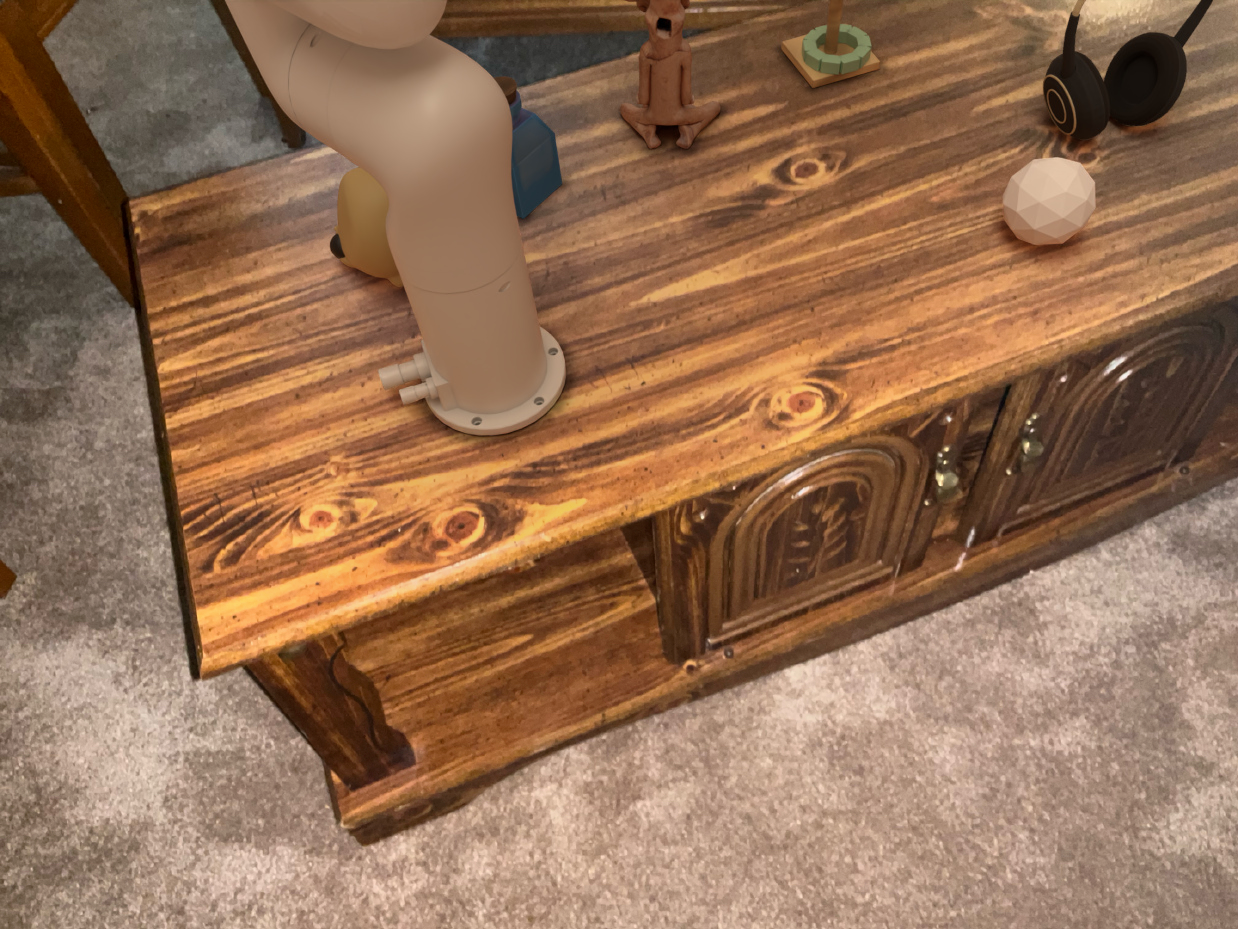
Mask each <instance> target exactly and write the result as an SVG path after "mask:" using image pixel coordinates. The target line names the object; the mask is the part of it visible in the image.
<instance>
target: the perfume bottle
mask: <svg viewBox="0 0 1238 929" xmlns="http://www.w3.org/2000/svg"><path fill="white" fill-rule="evenodd" d="M493 78H494V80H495V81H496V82H497V83H498V85H499V86H500V88H501V89H502V91H503V93H504V95H505V97H506V99H507V101H508V104H509V108H510V112H511V116H512V155H511V177H512V189H513V197H514V204H515V209H516V215H517V218H520V219H523V220H524V219H526V217H527V216H529V215H530V214H531V213H532V212H533V211H534V210H535V209H536V208H538V206H540V205H541V204H542V203H543V202H544V201H545V200H547V199H548V198H549V197H550V196H551V195H552V194H553V193H554V192H556V191H557V190H558V189H559V188H560V187H561V186H562V185H563V179H562V171H561V166H560V159H559V151H558V144H557V138H556V133H555V131H554V130H553V129H552V128H551V127H549V126H548V125H547V124H546V123H545V122H544V121H543V120H542V119H541V117H539V116H538V115H537V113H536V112H533V111H531V110H528V109H526V108H524V107H523V104H522V99H521V94H520V92H519V91H518V90H517V87H518V85H517V82H516V80H515V79H514V78H512V77H510V76H502V75H501V76H495V77H493Z"/></svg>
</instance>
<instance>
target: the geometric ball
mask: <svg viewBox="0 0 1238 929" xmlns="http://www.w3.org/2000/svg"><path fill="white" fill-rule="evenodd" d="M1095 210H1096V182H1095V180H1094V179H1093V178H1092V177H1091V175H1090V173H1089V172H1088V171H1087V170H1086V169H1085V167H1084V166H1083V164H1082V163H1081V162H1080V161H1079V162H1078V161H1076V160H1075V161H1074V160H1072V159H1067V158H1064V157H1058V156H1056V157H1055V156H1054V157H1045V158H1044V157H1043V158H1034V159H1032V160H1031V161H1030V162H1028V163H1027V164H1026V165H1024V166H1023V167H1021V168H1020V169H1019V170H1018V171H1016V172H1015V173H1014V174H1013V175H1011V176H1010V179H1009V180H1008V183H1007V185H1006V187H1005V189H1004V191H1003V194H1002V213H1003V215H1002V216H1003V221H1004V222H1005V224H1006V225H1007V226H1008V228H1009V229H1010V230H1011V232H1012V233H1013V235H1014V236H1015V237H1016V238H1017V239H1018V240H1020V241H1024V242H1026V243H1029V244H1031V245H1033V246H1037V245H1038V246H1040V245H1041V246H1042V245H1059V244H1060V245H1062V244H1064V243H1065V242H1067V241H1068V240H1069V239H1070V238H1072V237H1073V236H1074V235H1076V234H1077V233H1078V232H1080V231H1081V230H1082V229H1084V228H1085V227H1086V226H1087V224H1088V222H1089V221H1090V219H1091V217H1092V215H1093V213H1094V212H1095Z"/></svg>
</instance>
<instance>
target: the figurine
mask: <svg viewBox="0 0 1238 929" xmlns="http://www.w3.org/2000/svg"><path fill="white" fill-rule="evenodd" d="M624 1H625V2H627V3H635V4H636V7H637V9H638V10H639V11H641V12H642V13H645V14H644V22H645V24H646V26H647V29H648V37H649V38H648V39H647V40H646V41H645V42H644V43H643V44H641V47H640V49H639V54H638V92H637V94H636V96H635V102H636V104H637V105H642V106H641V107H637V105H634V104H632V103H630V102H623V103H620V106H619V112H620V115H621V116H622V118H623V119H624V120H625V121H626V122H627V123H628V124H629V125H630V126H631V127H632V128H633V129H634V130H635V131H636V132H637V133H638V134H639V135H640V136H641V137H642V138H643V139H644V141H645V143H646V145H647V147H648V148H649V149H656V148H658V147H660V145H661V144H662V143H661V142H662V141H661V140H660V138H659V137H658V135H657V133H656V131H657V126H678V132H679V134H680V136H679V137H678V139H677V140H676V143H675V144H676V146H677V147H680V148H682V149H684V150H686V149H690V148H691V146H692V144H693V142H694V139H695V138H696V137H697V135H698V134H699V133H700V132H701V130H702V129H704V128H705V127H707V126H708V125H709V123H711V122H712V120H714V119H715V118H716V117H717V116H718V115H719V114H720V112H721V105H720V103H719V102H718V101H716V100H712V101H709V102H707V103H704V104H702V105H700V106H695V105H694V104H695V95H694V94H693V93H692V65H693V53H692V46H691V44H690V42H689V41H688V40H686V39H684V38H683V37H684V36H683V29H684V23H685V21H686V10H687V9H688V8H689V7H691V0H624Z"/></svg>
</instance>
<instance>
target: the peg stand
mask: <svg viewBox="0 0 1238 929" xmlns="http://www.w3.org/2000/svg"><path fill="white" fill-rule="evenodd" d="M843 6H844V0H829V3H828V12H827V20H826V21H827V22H826V25H827V28H826V37H825V44H823V45H820V46H819V47H818V49H819V50H820V51H822V52H823V53H825V54H829V55H837V56H841V55H845V54H849V53H852V52H853V51H854V50H855V49H854V48H852V47H851V46H849V45H847V44H845V43H838V38H839V30H840V24H841V21H842V14H843ZM844 24H845V25H848V23H844ZM806 35H807V34H804V35H803V34H802V35H800V36H796V37H793V38H789V39H786V40H783V41H781V48H780V49H781V51H782V52H783V53H784V55H785V56H786V57H787V58H788V59H789V61H790V62H791V63H792V65H793V66H794V67H795V68H796V70H797V71H798V72H799V73H800V75H801V76H802V77H803V78H804V79H805V81H806V82H807V83H808V85H809V86H810V87H811V88H812V89H815V88H818V87H822V86H825V85H829V84H832V83H835V82H839V81H843V80H847V79H850V78H853V77H857V76H860V75H864V74H867V73H870V72H873V71H877V70H879V69H880V66H881V65H880V64H881V60H880V59H879V58H878V57H877V56H876V54H874V52H873V51H871V54H870V58H869V60H868V61H867V62H866V63H865V65H864V66H863V67H862V68H861V69H860V68H859V69H858V70H857V71H853V72H849V73H846V74H841V73H840V72H839V75H836V74H827V73H820V70H819V71H816V70H814V69H813V68H811V67H810V66H808V65H806V64H805V62H804V61H803V56H802V41H803V38H804V37H805V36H806Z"/></svg>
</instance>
